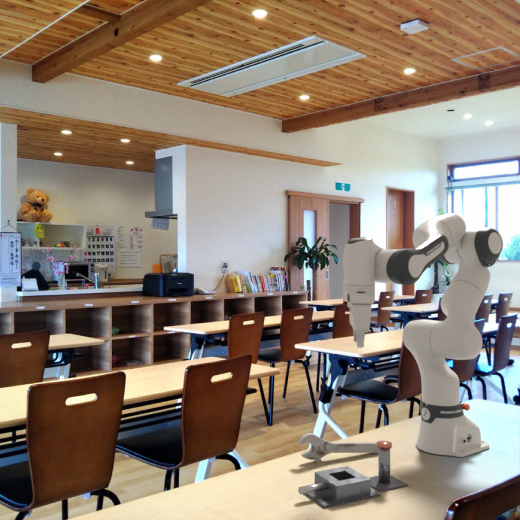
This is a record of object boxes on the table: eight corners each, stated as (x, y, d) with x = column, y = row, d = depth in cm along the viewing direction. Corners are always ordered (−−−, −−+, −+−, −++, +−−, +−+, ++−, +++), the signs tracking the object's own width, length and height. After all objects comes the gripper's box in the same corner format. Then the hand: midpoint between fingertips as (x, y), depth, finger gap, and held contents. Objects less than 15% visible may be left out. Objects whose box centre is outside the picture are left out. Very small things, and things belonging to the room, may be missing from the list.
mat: (388, 475, 155) (388, 473, 155) (408, 485, 148) (408, 484, 148) (360, 480, 151) (360, 479, 151) (379, 492, 144) (379, 490, 144)
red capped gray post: (376, 478, 152) (376, 440, 152) (390, 479, 151) (390, 440, 152) (377, 484, 148) (377, 444, 148) (392, 484, 148) (392, 445, 148)
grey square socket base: (351, 479, 152) (351, 463, 152) (379, 496, 142) (380, 479, 142) (288, 491, 144) (288, 475, 144) (313, 510, 133) (313, 492, 133)
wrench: (388, 462, 174) (298, 463, 163) (384, 460, 175) (295, 461, 164) (390, 435, 174) (301, 434, 163) (387, 433, 176) (298, 432, 165)
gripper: (344, 292, 172) (344, 339, 172) (350, 297, 152) (350, 350, 152) (366, 293, 172) (365, 339, 172) (374, 297, 151) (374, 350, 151)
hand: (358, 344), depth 162 cm, fingers open, 8 cm apart
